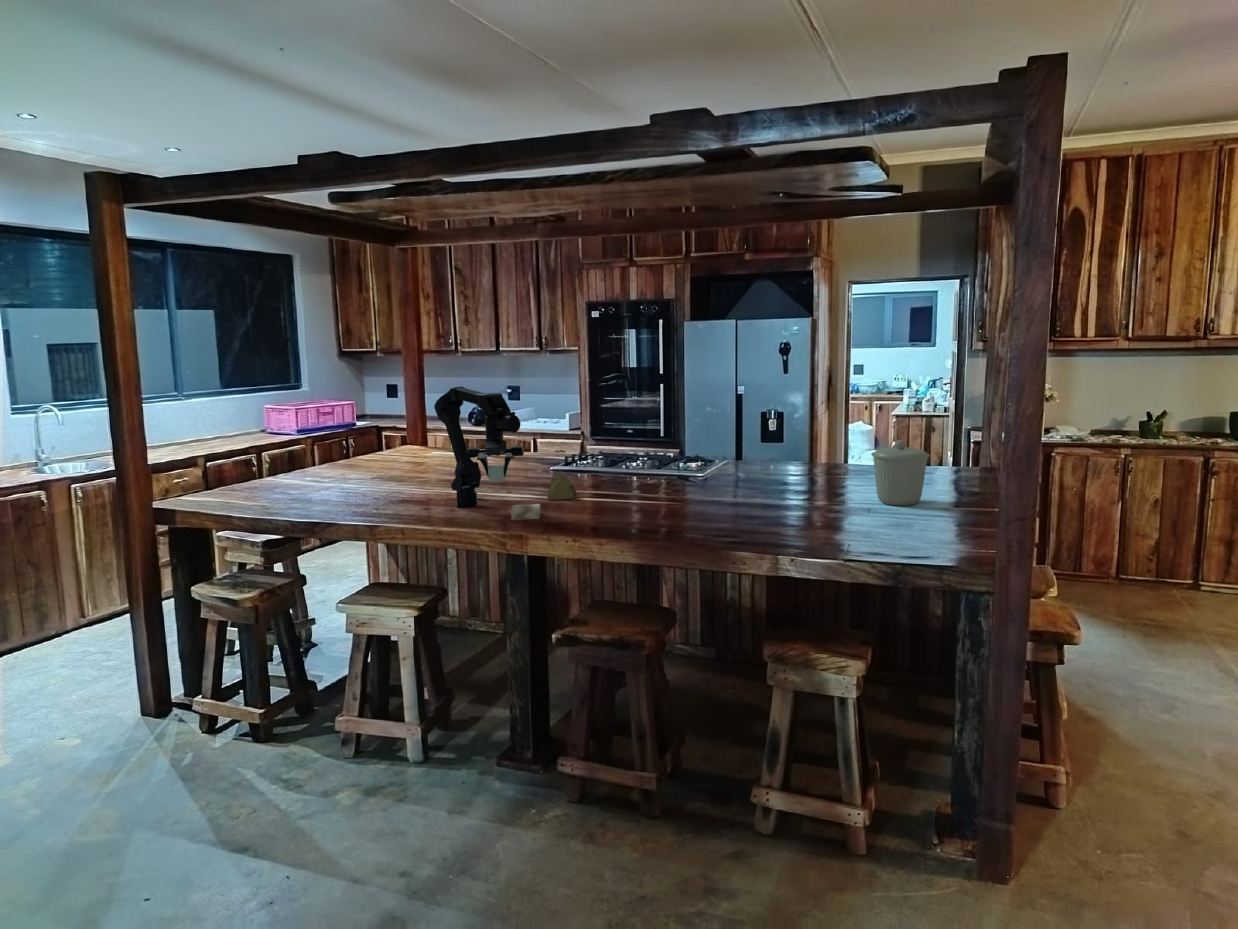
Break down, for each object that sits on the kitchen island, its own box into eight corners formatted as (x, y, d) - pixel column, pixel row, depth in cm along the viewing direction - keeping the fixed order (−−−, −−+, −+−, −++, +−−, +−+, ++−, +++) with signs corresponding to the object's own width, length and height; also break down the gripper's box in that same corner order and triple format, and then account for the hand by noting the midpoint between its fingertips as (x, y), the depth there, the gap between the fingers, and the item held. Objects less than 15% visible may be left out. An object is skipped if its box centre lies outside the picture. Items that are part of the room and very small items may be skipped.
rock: (583, 489, 297) (559, 484, 301) (579, 474, 291) (554, 469, 295) (571, 511, 291) (547, 506, 295) (566, 496, 285) (541, 491, 289)
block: (488, 482, 270) (488, 467, 270) (490, 479, 275) (489, 465, 274) (503, 481, 271) (503, 467, 270) (505, 479, 276) (504, 464, 275)
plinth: (511, 520, 262) (511, 510, 261) (513, 514, 271) (513, 505, 270) (539, 518, 262) (539, 509, 262) (540, 512, 271) (540, 504, 271)
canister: (932, 509, 259) (934, 443, 256) (873, 508, 263) (874, 444, 259) (923, 497, 276) (924, 436, 273) (867, 497, 280) (869, 436, 277)
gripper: (463, 435, 262) (465, 482, 264) (520, 432, 263) (523, 480, 265) (467, 431, 273) (470, 476, 275) (522, 429, 274) (525, 474, 276)
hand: (496, 477), depth 273 cm, fingers closed on block, 5 cm apart
